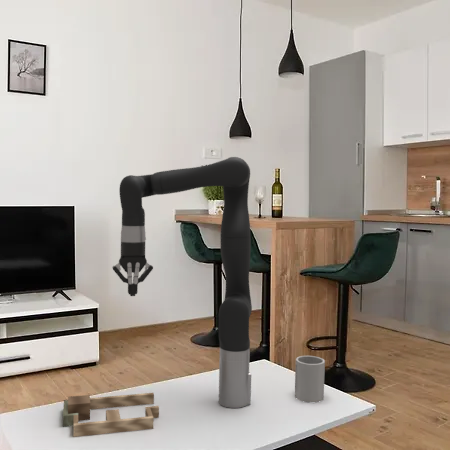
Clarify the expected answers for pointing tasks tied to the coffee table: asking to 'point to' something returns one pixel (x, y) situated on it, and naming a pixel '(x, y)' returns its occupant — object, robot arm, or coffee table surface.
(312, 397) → the cup
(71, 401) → the walnut block
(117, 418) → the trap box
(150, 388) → the coffee table surface
